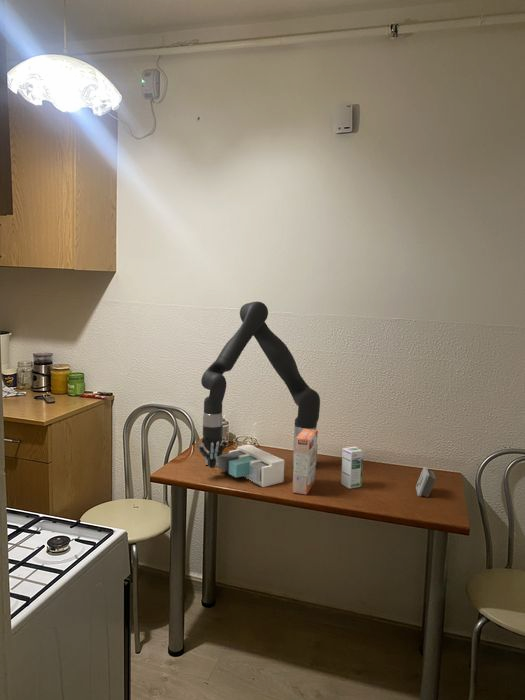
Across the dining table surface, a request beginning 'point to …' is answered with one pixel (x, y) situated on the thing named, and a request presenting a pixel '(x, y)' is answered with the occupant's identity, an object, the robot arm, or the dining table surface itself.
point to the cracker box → (304, 461)
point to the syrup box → (352, 467)
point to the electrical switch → (425, 482)
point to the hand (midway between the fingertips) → (211, 467)
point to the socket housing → (268, 473)
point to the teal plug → (240, 466)
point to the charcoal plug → (227, 460)
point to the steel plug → (256, 471)
